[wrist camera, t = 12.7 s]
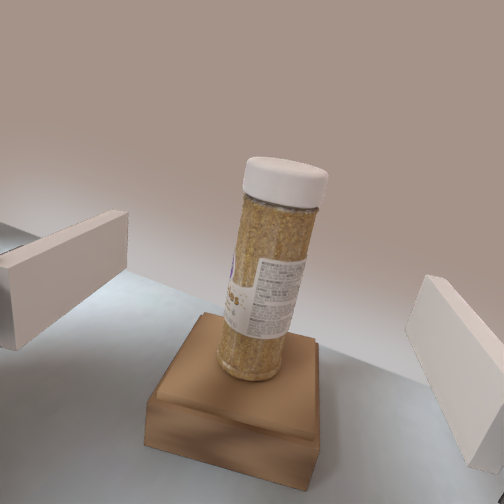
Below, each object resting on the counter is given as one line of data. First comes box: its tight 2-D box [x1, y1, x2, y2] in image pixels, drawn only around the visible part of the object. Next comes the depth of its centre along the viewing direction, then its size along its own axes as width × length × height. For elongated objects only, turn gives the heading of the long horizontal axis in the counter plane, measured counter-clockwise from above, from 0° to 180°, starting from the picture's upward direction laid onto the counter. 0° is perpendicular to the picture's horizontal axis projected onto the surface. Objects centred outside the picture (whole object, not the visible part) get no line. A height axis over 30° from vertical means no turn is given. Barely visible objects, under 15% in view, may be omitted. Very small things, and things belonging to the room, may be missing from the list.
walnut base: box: [144, 312, 320, 491], centre depth 24 cm, size 10×10×4 cm
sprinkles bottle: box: [216, 157, 328, 381], centre depth 21 cm, size 5×5×13 cm
